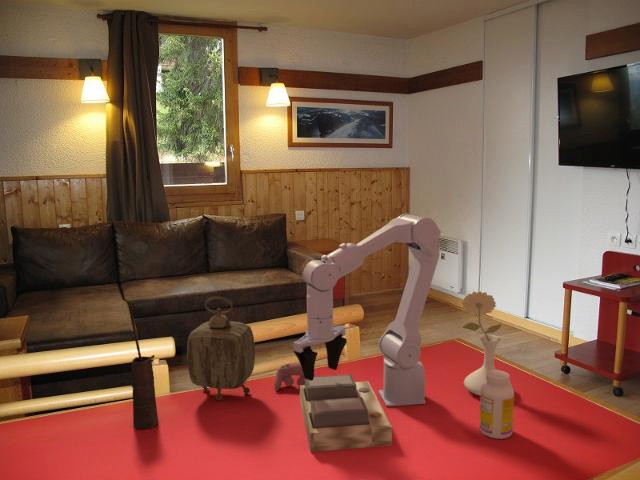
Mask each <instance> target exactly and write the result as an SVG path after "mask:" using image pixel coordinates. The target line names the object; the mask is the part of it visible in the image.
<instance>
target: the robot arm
mask: <svg viewBox="0 0 640 480" xmlns="http://www.w3.org/2000/svg"><path fill="white" fill-rule="evenodd" d="M441 232H442V231H441V230H440V228H439V226H438V224H437V223H436V222H435V221H434V219H432V218H430V217H426V216H425V217H423V216H417V215H413V214H411V213H403V214H400V215H399V216H398V217H395V218H393V219H391V220H390V221H389V222H388V223H387V224H386V225H384V226H382V227H381V228H379V229H378V230H376V231H374V232H373V233H372V234H370V235H369V236H367V237H366V238H364V239H362V240H361V241H359V242H358V243H357V244H355V243H352V242H348V243H346V242H345V243H344V242H342V243H341V244H339V248H337V249H336V250H334V251H332V252H330V253H328V254H327V255H326V254H324V255H323V254H322V256H321V257H320V259H313V260H310V261H309V262H308V263H307V264H306V266H304V269H303V272H301V276H302V280H303V281H304V282H305V283H306V319H307V320H306V321H307V322H306V323H307V324H306V325H307V326H306V327H307V330H305V334H304V335H303V336H302V337H300V338H299V339H298V340H296V341H293V353H294V355H295V356H296V358H297V360H298V361H299V364H301V367H302V370H303V373H304V377H305V379H308V380H310V381H312V380H313V379H314V377H315V364H316V359H317V357H318V352H317V351H313V349H312V348H311V347H314V346H317V345H320V344H323V343H324V345H325V349H326V358H327V367H328V369H331V370H334V371H337V370H338V367H339V362H340V359H341V355H342V353H343V350H344V348H345V347H346V345H347V342H348V339H347V338H346V337H344V336H346V332H347V331H346V326H342V325H337V326H334V299H333V298H334V295H333V294H334V293H333V292H334V287H335V286H336V284H337V282H338V280H339V279H341V278H342V277H344V276H346V275H348V274H349V273H351V272H353V271H354V270H356V269H357V268H360V267H361V266H362V265H363V264H364V261H365V258H366V257H368V256H370V255H372V254H374V253H376V252H378V251H379V250H381V249H383V248H385V247H387V246H390V245H391V244H393V243H404V244H405V245H406V246H407V247H408V248H409V251H410V252H411V254H412V256H413V260H412V263H411V267H410V270H409V273H408V276H407V280H406V283H405V286H404V289H403V292H402V296H401V299H400V303H399V306H398V308H397V313H396V316H395V319H394V320H393V321H392V322H390V323H388V325H387V326H386V330H385V331H384V333H383V334H382V335H381V336H380V339H379V341H378V348H379V351H380V352H381V353H382V354H383V388H382V389H379V390H378V394H379V395H380V397H381V399H382V401H383V404H385V406H386V407H401V406H413V405H415V406H416V405H426V402H427V401H426V400H425V399H426V397H425V394H426V393H425V392H426V372H425V366H424V365H423V363H422V362H421V361H420V359H421V355H422V354H421V344H422V336H421V333H420V331H419V324H420V321H421V318H422V314H423V311H424V308H425V304H426V301H427V298H428V295H429V292H430V288H431V285H432V282H433V279H434V275H435V272H436V270H437V269H436V268H437V264H438V263H439V260H440V246H439V245H440V244H439V240H440V235H441Z"/></svg>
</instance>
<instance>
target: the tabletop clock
mask: <svg viewBox="0 0 640 480" xmlns="http://www.w3.org/2000/svg"><path fill="white" fill-rule="evenodd" d="M215 300H217V301H218V300H219V301H224V302H226V303H228V305H230V309H228V310H225V311H222V308H220V307H218V308H216V310H213V309H210V308H208V306H207V304H208V303H209V302H210V301H215ZM204 308H205V310H206V311H208V313H211V314H212V315H213V314H214V315H213V316H212V317H211V318H210V319H209V321H206V322H202V323H201V324H200V325H199V326H198V327H196V328H195V329H193V330H192V331H191V332H190V333H189V336H188V338H187V345H186V354H187V355H186V361H187V369H188V374H189V378H190V381H191V384H192V385H196V386H197V387H201V388H202V390H203V391H208V390H209V388H210V389H217V394H216V396H214V397H215V401H216V402H221V401H222V400H223V395H222V394H221V390H234V389H238V388H242V389H243V393H244V394H245V395H248V394H249V393H250V392H251V390H250V388H249V387H248V386H245V385H244V384H245V383H246V381H247V380H248V379H249V378H250V376H251V375H252V374H253V371H254V369H255V360H256V345H255V338H254V333H253V330H252V328H251V325H248V324H246V323H243V322H241V321H233V320H232V321H231V320H230V319H229V317H227V316H226V314H229V313H231V311H232V310H233V308H234V305H233V303H232V301H230V300H229V299H228V298H226V297H223V296H212V297H209V298H207V299H206V300H205V302H204ZM207 387H209V388H207ZM203 388H204V389H203Z"/></svg>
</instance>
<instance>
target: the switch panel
mask: <svg viewBox="0 0 640 480" xmlns="http://www.w3.org/2000/svg"><path fill="white" fill-rule="evenodd" d="M355 383H356V397H362V398H363V401H364V403H365V405H366V407H367V409H368V425H356V426H342V427H329V428H315V429H314V427H313V423H312V419H311V401H307V398H306V394H305V385H300V386H299V402H300V408H301V409H300V410H301V412H302V417H303V418H302V419H303V422H304V426H305V427H304V428H305V430H306V436H307V441H308V447H309V451H310V453H314V452H325V451H327V452H328V451H339V450H350V449H352V450H353V449H362V448H363V449H364V448H374V447H375V448H376V447H386V446H387V447H388V446H393V425H392V424H391V422H390V421H389V419H388V417H387V415H386V412H385V411H384V409H383V407H382V405H381V403H380V401H379V399H378V398H377V395H376V393H375V391H374V389H373V387H372V386H371V384H370V382H369V380H365V381H364V380H363V381H355Z"/></svg>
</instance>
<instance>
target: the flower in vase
mask: <svg viewBox="0 0 640 480" xmlns="http://www.w3.org/2000/svg"><path fill="white" fill-rule="evenodd" d="M461 305H462V307H463V308H464V311H465V312H467V313H468V314H472V315H475V316H478V324H477V323H475V322H469V323H468V322H467V323H465V325H463V326H462V328H463V329H467V330H471V331H477V330H479V329H481V330H482V332H483V334H481V335H480V336H478V337H479V340H480V341H481V343H482V345H483V350H484V351H483V352H484V353H483V355H484V360H483V364H482V366H481V367H480V368H478V369H476V370H475V371H472V372H470V374H469V375H467V376H466V377H465V379H464V380H463V385H464V386H465V388H466V390H467V391H469V392H471V393H472V394H475V395H477V396H480V397H481V387H482V385H483V384H484V383H486V382H487V380H486V373H487V372H488V371H491V370H498V369H497V367H496V366H495V353H496V349H497V345H498V344H499V343H500V341H501V340H502V338H501V337H500V336H498V335H495V334H493V333H496V332H497V331H499V330H500V328H501V327H502V323H500V324H496V325H491V326H489V327H488V329H486V331H485V330H484V328H483V326H482V323H481V316H482V315H486V314H491V313H492V312H493V311H494V309H495V308H497V305H496V301H495V298H494V296H493V295H489V294H488V293H487V292H486V291H484V292H482V291H478V292H476V291H472V293H468V294H467V295H465V297H463V300H462V301H461ZM508 385H510V386H511V387H512V388H513V385H512V382H511V381H510V382H509V384H508Z"/></svg>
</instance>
